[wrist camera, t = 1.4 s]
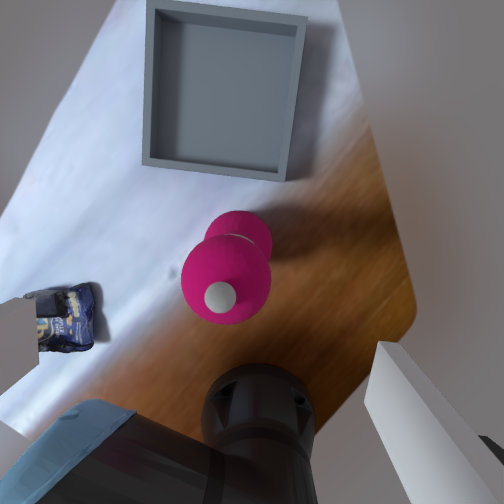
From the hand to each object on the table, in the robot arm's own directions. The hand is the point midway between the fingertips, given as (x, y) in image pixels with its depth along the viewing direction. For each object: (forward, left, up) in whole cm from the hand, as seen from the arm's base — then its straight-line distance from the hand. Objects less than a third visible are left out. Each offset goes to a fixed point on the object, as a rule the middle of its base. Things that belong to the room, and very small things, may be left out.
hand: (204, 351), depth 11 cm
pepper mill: (0, 0, -25) cm, 25 cm away
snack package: (-13, +23, -25) cm, 36 cm away
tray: (+14, +4, -25) cm, 29 cm away
